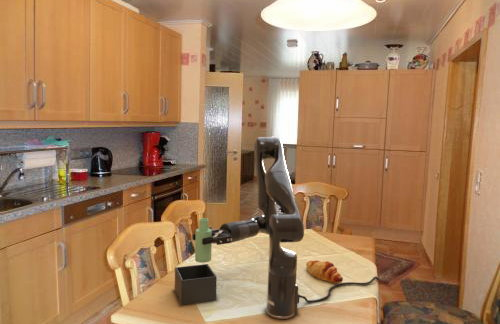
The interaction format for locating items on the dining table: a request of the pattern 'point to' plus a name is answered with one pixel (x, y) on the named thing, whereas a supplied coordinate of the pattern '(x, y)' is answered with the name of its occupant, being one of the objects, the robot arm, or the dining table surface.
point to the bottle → (201, 250)
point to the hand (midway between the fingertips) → (197, 239)
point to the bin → (195, 284)
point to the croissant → (324, 271)
